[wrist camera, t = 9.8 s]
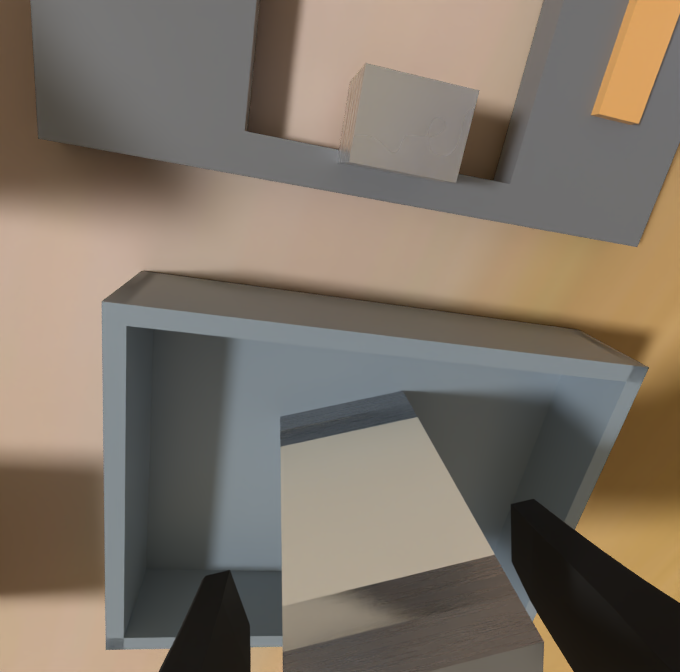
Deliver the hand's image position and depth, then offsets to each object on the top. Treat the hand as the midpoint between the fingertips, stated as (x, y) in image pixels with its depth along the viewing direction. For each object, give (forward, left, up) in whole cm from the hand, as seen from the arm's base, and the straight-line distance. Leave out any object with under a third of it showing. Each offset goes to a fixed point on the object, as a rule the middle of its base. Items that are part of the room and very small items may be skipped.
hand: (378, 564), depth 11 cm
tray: (0, 0, -5) cm, 5 cm away
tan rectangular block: (0, 0, -4) cm, 4 cm away
